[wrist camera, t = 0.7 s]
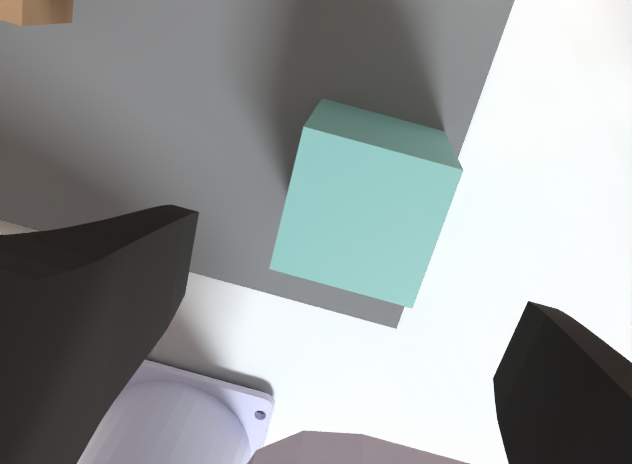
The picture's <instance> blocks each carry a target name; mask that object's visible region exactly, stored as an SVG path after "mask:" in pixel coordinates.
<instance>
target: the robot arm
mask: <svg viewBox="0 0 632 464" xmlns="http://www.w3.org/2000/svg"><path fill="white" fill-rule="evenodd" d="M198 216H199V212H198V211H194V210H190V209H187V208H183V207H179V206H175V205H172V204H171V205H162V206H157V207H152V208H148V209H144V210H140V211H136V212H132V213H129V214H125V215H121V216H117V217H113V218H109V219H105V220H100V221H95V222H90V223H85V224H80V225H76V226H71V227H66V228H60V229H54V230H47V231H40V232H30V233H21V234H11V235H0V464H469V463H465V462H461V461H458V460H454V459H451V458H447V457H443V456H440V455H436V454H432V453H429V452H425V451H421V450H418V449H414V448H410V447H407V446H403V445H400V444H396V443H392V442H389V441H385V440H381V439H378V438H374V437H370V436H367V435H363V434H349V433H333V432H317V431H302V432H299V433H297V434H295V435H292V436H290V437H287V438H285V439H282V440H280V441H277V442H275V443H273V444H270V445H268V446H265V447H263V445H264V441H265V438H266V434H267V431H268V427H269V423H270V420H271V416H272V412H273V409H274V405H275V401H274V398H273V397H272V396H271V395H269V394H267V393H264V392H261V391H257V390H254V389H250V388H246V387H243V386H239V385H235V384H232V383H228V382H225V381H221V380H217V379H214V378H210V377H207V376H203V375H199V374H196V373H192V372H189V371H185V370H181V369H178V368H174V367H171V366H167V365H163V364H160V363H156V362H153V361H149V360H145V359H146V357H147V356H148V355H149V353H150V352H151V350H152V349H153V348H154V346H155V345H156V344H157V342H158V341H159V339H160V338H161V337H162V335H163V334H164V332H165V331H166V329H167V328H168V326H169V324H170V322H171V320H172V319H173V317H174V315H175V313H176V311H177V309H178V307H179V305H180V303H181V301H182V299H183V297H184V295H185V291H186V285H187V280H188V274H189V268H190V262H191V256H192V251H193V245H194V239H195V233H196V227H197V222H198ZM493 382H494V394H495V404H496V413H497V420H498V424H499V428H500V432H501V436H502V440H503V444H504V448H505V451H506V455H507V459H508V462H509V464H632V363H631V362H630V361H629V360H627V359H626V358H625V357H623V356H622V355H621V354H619V353H618V352H617V351H616V350H614V349H613V348H612V347H610V346H609V345H608V344H607V343H605V342H604V341H603V340H601V339H600V338H599V337H597V336H596V335H595V334H594V333H592V332H591V331H590V330H588V329H587V328H586V327H584V326H583V325H582V324H580V323H579V322H577V321H576V320H575V319H573V318H572V317H570V316H569V315H567V314H565V313H564V312H562V311H560V310H558V309H555V308H552V307H548V306H544V305H541V304H537V303H533V302H530V301H528V303H527V305H526V307H525V310H524V312H523V314H522V316H521V318H520V321H519V323H518V325H517V327H516V329H515V332H514V334H513V336H512V338H511V340H510V342H509V345H508V347H507V349H506V351H505V353H504V356H503V358H502V360H501V362H500V364H499V367H498V369H497V371H496V373H495V375H494V378H493ZM257 411H263V412H264V413H265V414H260V413H258V412H257Z"/></svg>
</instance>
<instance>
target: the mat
mask: <svg viewBox="0 0 632 464" xmlns="http://www.w3.org/2000/svg"><path fill="white" fill-rule="evenodd" d="M513 3H514V0H74V3H73V18H72V23H61V24H45V25H29V26H20V25H17V24H13V23H9V22H6V21H2V20H0V220H4V221H7V222H11V223H15V224H18V225H22V226H26V227H29V228H33V229H37V230H40V231H47V230H54V229H60V228H66V227H71V226H76V225H80V224H85V223H90V222H95V221H100V220H105V219H109V218H113V217H117V216H121V215H125V214H129V213H132V212H136V211H140V210H144V209H148V208H152V207H157V206H162V205H171V204H172V205H175V206H179V207H183V208H187V209H190V210H194V211H198V212H199V216H198V222H197V227H196V233H195V239H194V245H193V251H192V256H191V262H190V268H189V272H193V273H196V274H200V275H204V276H207V277H211V278H214V279H218V280H222V281H225V282H229V283H233V284H236V285H240V286H243V287H247V288H251V289H254V290H258V291H262V292H265V293H269V294H273V295H276V296H280V297H283V298H287V299H291V300H294V301H298V302H302V303H305V304H309V305H312V306H316V307H320V308H323V309H327V310H331V311H334V312H338V313H342V314H345V315H349V316H352V317H356V318H360V319H363V320H367V321H371V322H374V323H378V324H381V325H385V326H389V327H392V328H397V325H398V323H399V320H400V317H401V314H402V311H403V309H404V306H402V305H398V304H395V303H391V302H387V301H384V300H380V299H377V298H373V297H369V296H366V295H362V294H358V293H355V292H351V291H347V290H344V289H340V288H337V287H333V286H329V285H326V284H322V283H318V282H315V281H311V280H307V279H304V278H300V277H297V276H293V275H289V274H286V273H282V272H278V271H275V270H271V269H269V268H270V264H271V260H272V256H273V251H274V247H275V243H276V239H277V235H278V231H279V226H280V222H281V218H282V214H283V210H284V206H285V201H286V197H287V193H288V189H289V185H290V181H291V176H292V172H293V168H294V164H295V160H296V156H297V151H298V147H299V143H300V139H301V135H302V131H303V126H304V125H305V123H306V122H307V120H308V119H309V117H310V116H311V114H312V113H313V111H314V110H315V108H316V107H317V105H318V104H319V102H320V101H321V99H322V98H324V99H327V100H331V101H335V102H338V103H342V104H346V105H349V106H353V107H357V108H360V109H364V110H368V111H371V112H375V113H379V114H382V115H386V116H390V117H393V118H397V119H401V120H405V121H408V122H412V123H416V124H419V125H423V126H427V127H430V128H434V129H438V130H441V131H445V133H446V135H447V137H448V139H449V141H450V143H451V146H452V148H453V150H454V152H455V154H456V156H457V158H458V156H459V153H460V150H461V148H462V145H463V142H464V139H465V136H466V134H467V131H468V128H469V125H470V123H471V120H472V117H473V114H474V111H475V109H476V106H477V103H478V100H479V98H480V95H481V92H482V89H483V86H484V84H485V81H486V78H487V75H488V73H489V70H490V67H491V64H492V61H493V59H494V56H495V53H496V50H497V48H498V45H499V42H500V39H501V36H502V34H503V31H504V28H505V25H506V23H507V20H508V17H509V14H510V11H511V9H512V6H513Z"/></svg>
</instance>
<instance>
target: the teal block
mask: <svg viewBox="0 0 632 464" xmlns="http://www.w3.org/2000/svg"><path fill="white" fill-rule="evenodd" d="M462 172H463V169H462V167H461V165H460V162H459V160H458V158H457V156H456V154H455V152H454V150H453V148H452V146H451V143H450V141H449V139H448V137H447V135H446V133H445V131H441V130H438V129H434V128H430V127H427V126H423V125H419V124H416V123H412V122H408V121H405V120H401V119H397V118H393V117H390V116H386V115H382V114H379V113H375V112H371V111H368V110H364V109H360V108H357V107H353V106H349V105H346V104H342V103H338V102H335V101H331V100H327V99H324V98H322V99H321V101H320V102H319V104H318V105H317V107H316V108H315V110H314V111H313V113H312V114H311V116H310V117H309V119H308V120H307V122H306V123H305V125H304V126H303V131H302V135H301V139H300V143H299V147H298V151H297V156H296V160H295V164H294V168H293V172H292V176H291V181H290V185H289V189H288V193H287V197H286V201H285V206H284V210H283V214H282V218H281V222H280V226H279V231H278V235H277V239H276V243H275V247H274V251H273V256H272V260H271V264H270V268H269V269H271V270H275V271H278V272H282V273H286V274H289V275H293V276H297V277H300V278H304V279H307V280H311V281H315V282H318V283H322V284H326V285H329V286H333V287H337V288H340V289H344V290H347V291H351V292H355V293H358V294H362V295H366V296H369V297H373V298H377V299H380V300H384V301H387V302H391V303H395V304H398V305H402V306H406V307H409V308H413V305H414V302H415V300H416V297H417V294H418V291H419V289H420V286H421V283H422V281H423V278H424V275H425V272H426V270H427V267H428V264H429V261H430V259H431V256H432V253H433V251H434V248H435V245H436V242H437V240H438V237H439V234H440V232H441V229H442V226H443V223H444V221H445V218H446V215H447V212H448V210H449V207H450V204H451V202H452V199H453V196H454V193H455V191H456V188H457V185H458V182H459V180H460V177H461V174H462Z"/></svg>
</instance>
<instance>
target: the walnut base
mask: <svg viewBox="0 0 632 464" xmlns="http://www.w3.org/2000/svg"><path fill="white" fill-rule="evenodd" d="M73 3H74V0H0V20H2V21H6V22H9V23H13V24H17V25H20V26H29V25H45V24H61V23H72V18H73Z"/></svg>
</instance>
